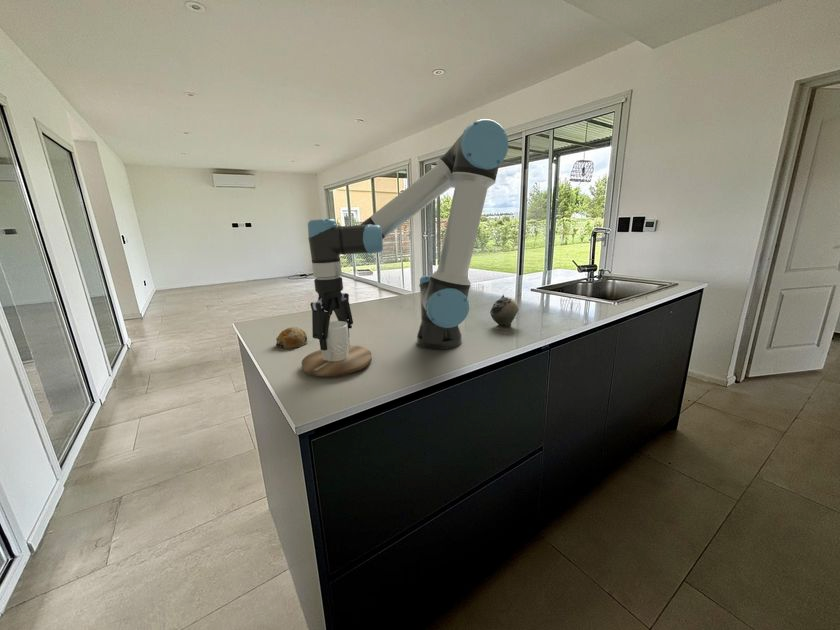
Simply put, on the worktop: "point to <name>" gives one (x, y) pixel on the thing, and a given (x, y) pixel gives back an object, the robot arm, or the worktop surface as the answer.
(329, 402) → the worktop surface
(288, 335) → the bread roll
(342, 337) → the white cup
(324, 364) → the turntable
